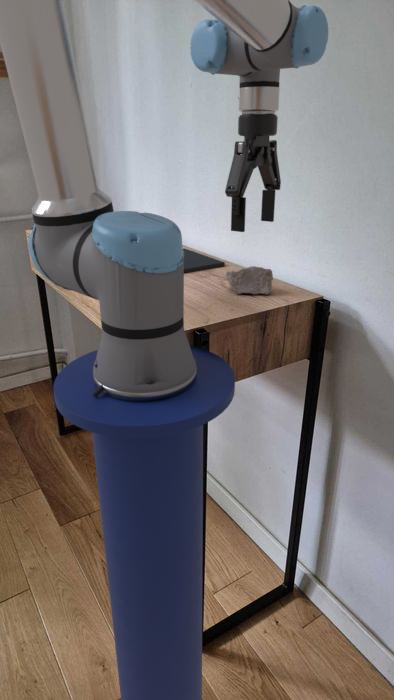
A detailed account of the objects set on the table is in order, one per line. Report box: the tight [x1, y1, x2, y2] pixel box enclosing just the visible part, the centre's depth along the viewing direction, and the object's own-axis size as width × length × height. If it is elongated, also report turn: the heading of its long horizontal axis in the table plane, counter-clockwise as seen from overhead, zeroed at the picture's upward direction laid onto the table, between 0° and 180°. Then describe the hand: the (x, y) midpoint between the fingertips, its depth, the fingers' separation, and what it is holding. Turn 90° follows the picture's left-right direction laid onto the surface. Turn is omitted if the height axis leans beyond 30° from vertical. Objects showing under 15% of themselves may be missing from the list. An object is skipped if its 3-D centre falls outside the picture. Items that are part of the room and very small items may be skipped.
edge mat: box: [183, 247, 226, 274], centre depth 131 cm, size 20×14×1 cm
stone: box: [225, 265, 274, 295], centre depth 106 cm, size 10×8×6 cm
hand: (253, 226), depth 102 cm, fingers open, 13 cm apart
